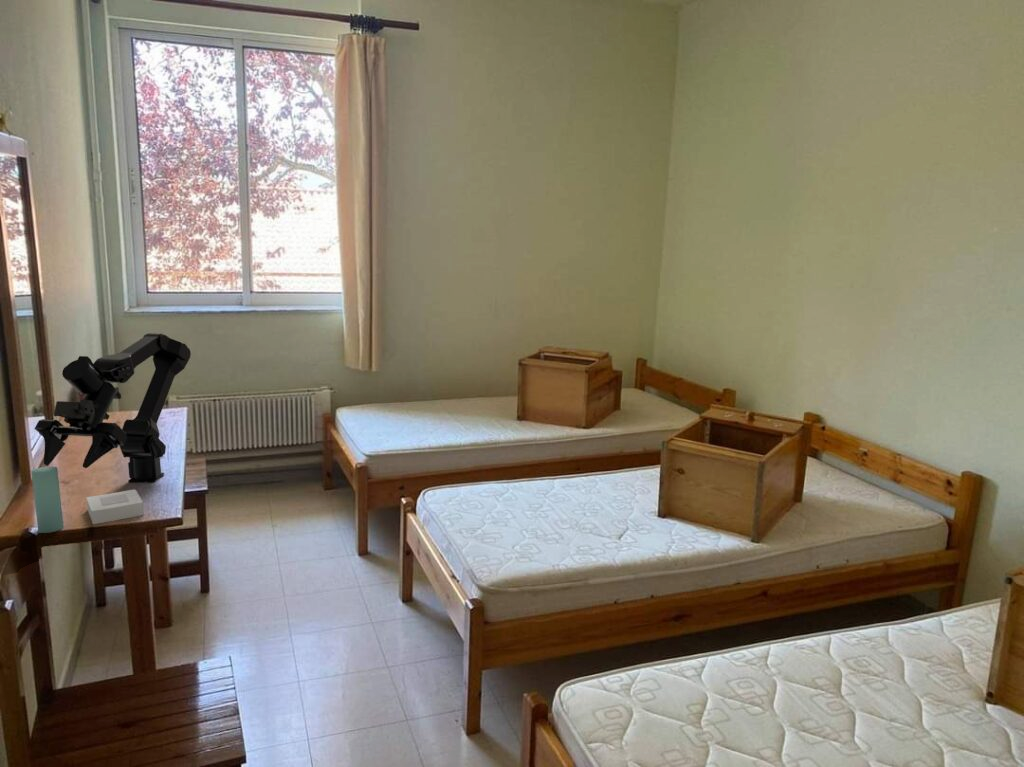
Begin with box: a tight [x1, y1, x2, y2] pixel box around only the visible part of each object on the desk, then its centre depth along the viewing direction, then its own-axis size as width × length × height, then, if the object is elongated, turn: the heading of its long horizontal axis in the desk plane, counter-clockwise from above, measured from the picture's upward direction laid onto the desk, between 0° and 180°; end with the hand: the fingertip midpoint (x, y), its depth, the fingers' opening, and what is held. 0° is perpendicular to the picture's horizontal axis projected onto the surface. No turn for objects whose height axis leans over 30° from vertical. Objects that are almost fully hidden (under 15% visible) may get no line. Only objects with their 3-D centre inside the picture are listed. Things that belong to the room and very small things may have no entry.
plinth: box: [85, 489, 145, 525], centre depth 164 cm, size 10×10×3 cm
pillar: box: [30, 466, 64, 534], centre depth 154 cm, size 5×5×13 cm
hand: (64, 466), depth 158 cm, fingers open, 9 cm apart
